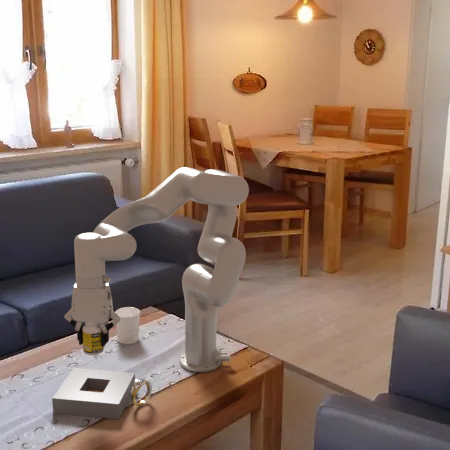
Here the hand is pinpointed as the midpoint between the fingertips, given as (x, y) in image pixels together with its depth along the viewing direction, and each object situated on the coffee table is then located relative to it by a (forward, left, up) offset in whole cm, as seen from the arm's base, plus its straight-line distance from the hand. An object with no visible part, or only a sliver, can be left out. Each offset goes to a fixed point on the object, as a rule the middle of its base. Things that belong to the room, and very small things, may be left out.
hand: (93, 342), depth 169 cm
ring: (-13, +1, -17) cm, 22 cm away
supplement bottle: (0, 0, -3) cm, 3 cm away
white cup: (+1, -36, -17) cm, 40 cm away
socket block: (0, 0, -17) cm, 17 cm away
